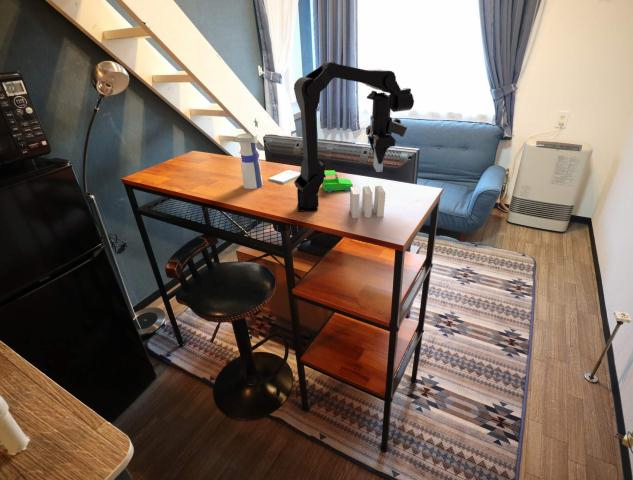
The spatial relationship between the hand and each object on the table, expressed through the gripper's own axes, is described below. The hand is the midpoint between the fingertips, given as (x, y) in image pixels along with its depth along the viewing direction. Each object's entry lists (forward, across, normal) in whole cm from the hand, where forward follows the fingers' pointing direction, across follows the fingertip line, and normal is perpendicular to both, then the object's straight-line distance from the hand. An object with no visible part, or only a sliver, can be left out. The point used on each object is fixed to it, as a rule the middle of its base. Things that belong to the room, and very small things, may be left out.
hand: (378, 160), depth 118 cm
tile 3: (+12, -15, +2) cm, 20 cm away
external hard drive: (+13, +21, +33) cm, 42 cm away
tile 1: (+12, -15, +10) cm, 22 cm away
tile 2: (+12, -15, +6) cm, 20 cm away
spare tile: (+3, 0, 0) cm, 3 cm away
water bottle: (+12, +14, +46) cm, 50 cm away
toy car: (+13, +7, +14) cm, 20 cm away
